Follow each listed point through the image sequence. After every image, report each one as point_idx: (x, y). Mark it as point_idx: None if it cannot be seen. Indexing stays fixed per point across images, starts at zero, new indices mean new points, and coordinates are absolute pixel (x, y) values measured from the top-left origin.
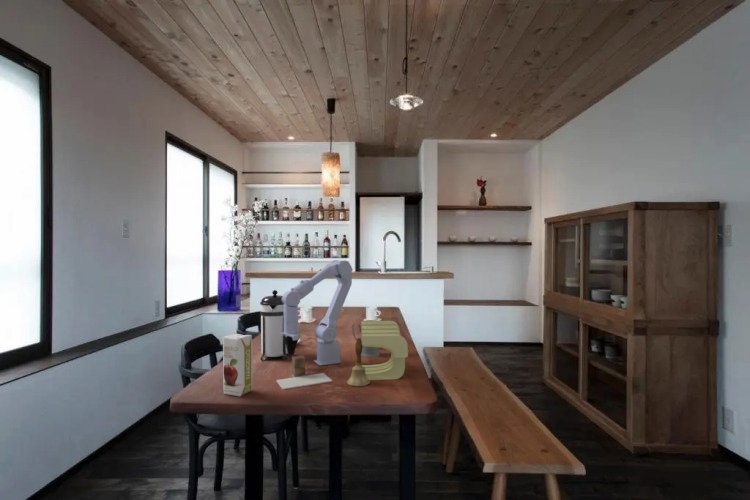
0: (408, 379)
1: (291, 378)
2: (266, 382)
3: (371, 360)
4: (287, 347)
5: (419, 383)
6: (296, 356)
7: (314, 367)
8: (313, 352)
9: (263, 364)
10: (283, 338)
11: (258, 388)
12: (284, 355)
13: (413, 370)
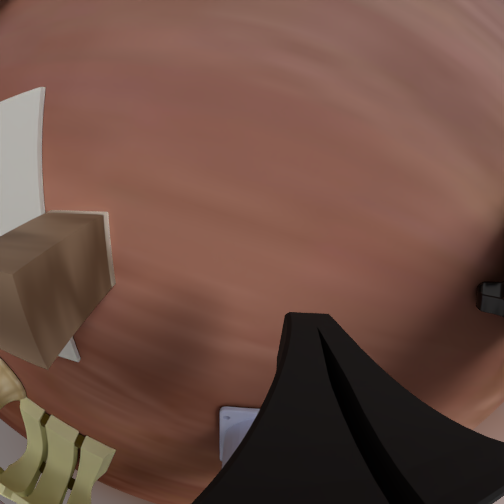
0: None
1: (29, 184)
2: (60, 31)
3: None
4: (305, 380)
5: (14, 428)
6: (19, 317)
7: (212, 381)
8: (446, 414)
9: (485, 130)
10: (498, 481)
11: (19, 9)
12: (495, 300)
13: None
